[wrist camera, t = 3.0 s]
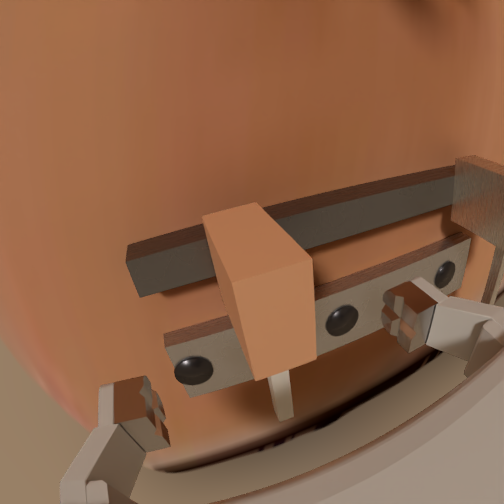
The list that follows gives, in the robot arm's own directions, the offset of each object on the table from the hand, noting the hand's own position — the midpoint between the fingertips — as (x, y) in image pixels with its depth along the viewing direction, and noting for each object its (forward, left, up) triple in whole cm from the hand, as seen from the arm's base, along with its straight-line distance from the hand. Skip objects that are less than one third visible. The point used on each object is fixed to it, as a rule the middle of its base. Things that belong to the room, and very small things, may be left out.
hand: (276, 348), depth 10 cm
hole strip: (-7, +7, -8) cm, 13 cm away
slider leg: (0, +2, -6) cm, 6 cm away
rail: (-7, +2, -8) cm, 11 cm away
